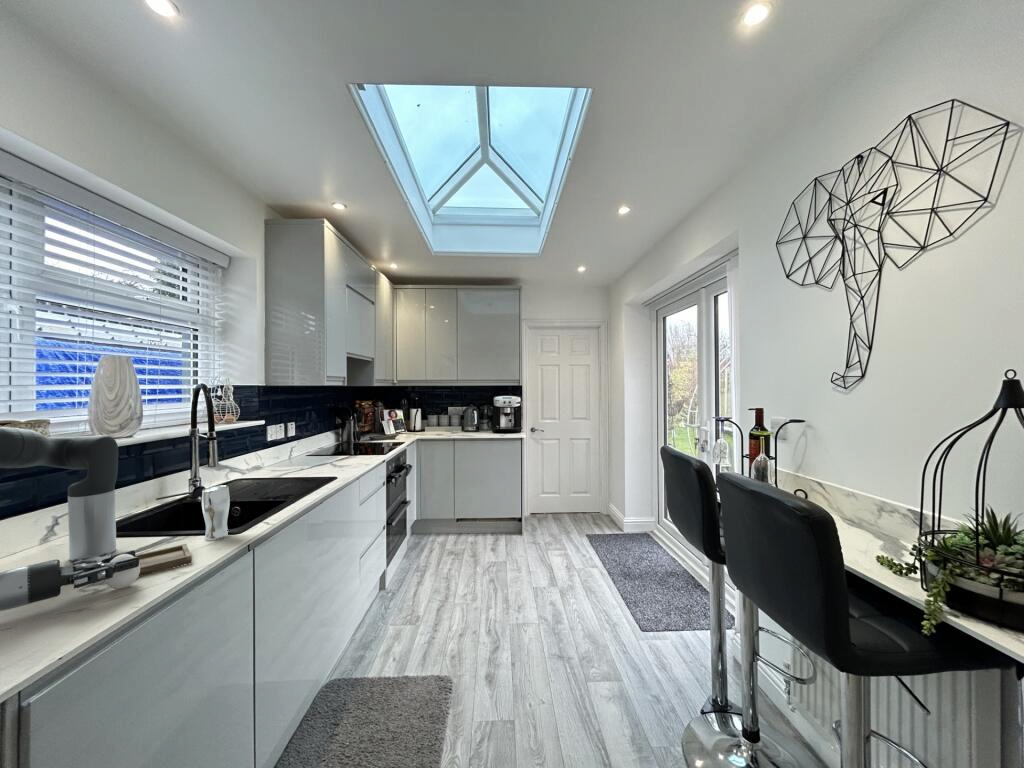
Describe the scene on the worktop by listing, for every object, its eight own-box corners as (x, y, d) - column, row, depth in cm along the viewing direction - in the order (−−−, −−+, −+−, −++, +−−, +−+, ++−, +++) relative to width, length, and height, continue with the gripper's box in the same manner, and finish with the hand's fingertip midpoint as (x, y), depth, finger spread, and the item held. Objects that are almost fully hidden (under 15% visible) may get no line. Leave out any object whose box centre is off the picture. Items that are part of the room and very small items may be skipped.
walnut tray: (128, 564, 108) (127, 556, 108) (186, 550, 116) (186, 543, 116) (128, 579, 99) (128, 570, 99) (191, 563, 107) (191, 555, 107)
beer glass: (226, 531, 131) (225, 484, 131) (233, 535, 127) (232, 487, 127) (199, 537, 126) (198, 489, 126) (206, 542, 121) (205, 492, 122)
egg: (113, 584, 96) (112, 551, 96) (145, 579, 98) (144, 547, 98) (98, 596, 91) (97, 562, 91) (132, 591, 93) (132, 557, 93)
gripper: (23, 577, 79) (141, 549, 92) (26, 557, 89) (132, 535, 101) (24, 616, 79) (142, 582, 92) (27, 592, 89) (133, 565, 101)
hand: (136, 557), depth 96 cm, fingers closed on egg, 5 cm apart
